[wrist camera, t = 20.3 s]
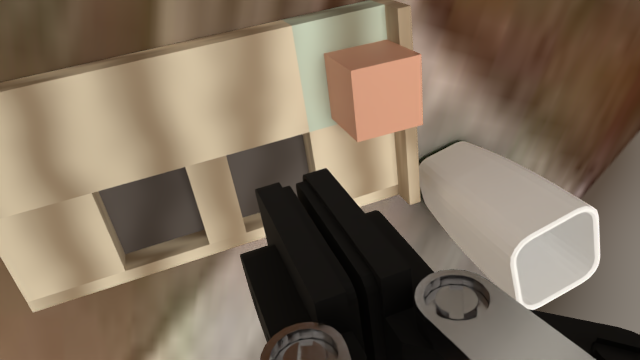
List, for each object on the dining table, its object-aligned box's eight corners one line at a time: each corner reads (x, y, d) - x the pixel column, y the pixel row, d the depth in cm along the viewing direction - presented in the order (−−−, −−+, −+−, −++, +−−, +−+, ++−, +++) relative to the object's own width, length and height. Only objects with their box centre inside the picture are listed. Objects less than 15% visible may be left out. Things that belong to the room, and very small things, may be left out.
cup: (419, 218, 49) (520, 319, 37) (401, 158, 45) (508, 248, 33) (482, 185, 50) (602, 272, 38) (470, 123, 46) (599, 198, 34)
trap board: (37, 291, 39) (28, 331, 35) (-71, 98, 31) (-98, 123, 27) (396, 178, 46) (420, 201, 42) (381, -3, 38) (410, 5, 34)
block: (331, 118, 38) (357, 142, 34) (323, 53, 36) (350, 70, 32) (390, 103, 39) (422, 124, 35) (387, 39, 37) (421, 54, 33)
